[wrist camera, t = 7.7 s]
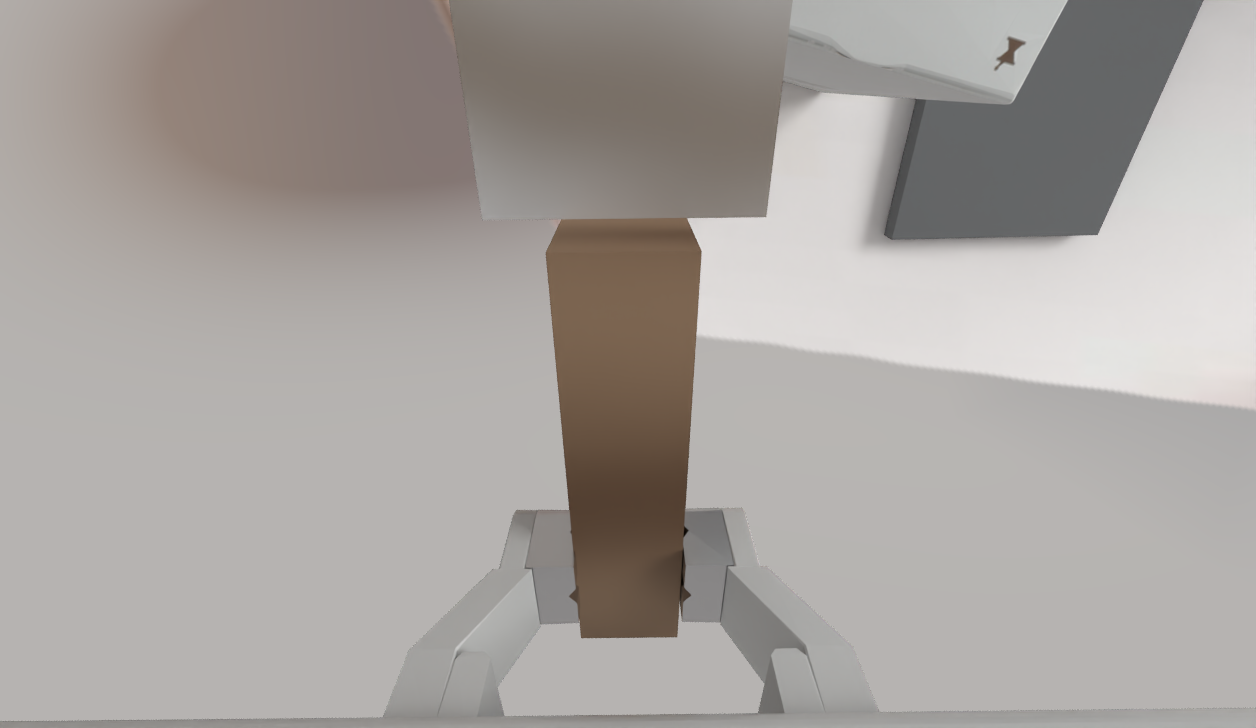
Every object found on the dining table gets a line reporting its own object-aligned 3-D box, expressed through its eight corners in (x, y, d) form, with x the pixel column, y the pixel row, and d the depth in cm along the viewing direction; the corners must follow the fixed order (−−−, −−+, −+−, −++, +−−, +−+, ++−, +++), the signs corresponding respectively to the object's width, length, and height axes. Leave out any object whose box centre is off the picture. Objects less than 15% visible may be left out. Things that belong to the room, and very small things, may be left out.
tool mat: (1001, -259, 20) (1017, -274, 19) (1300, -267, 20) (1330, -283, 19) (884, 234, 30) (891, 239, 29) (1083, 230, 30) (1097, 234, 29)
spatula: (446, -146, 7) (345, -276, 5) (791, -151, 7) (887, -284, 5) (539, 535, 14) (520, 638, 11) (717, 533, 14) (738, 636, 11)
